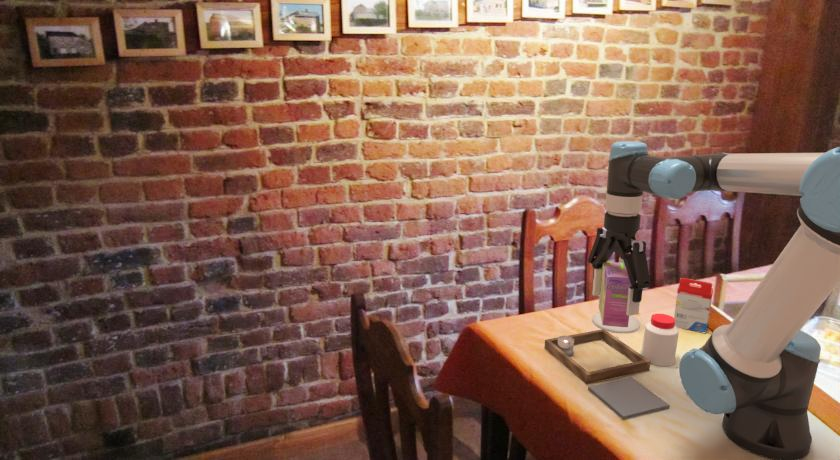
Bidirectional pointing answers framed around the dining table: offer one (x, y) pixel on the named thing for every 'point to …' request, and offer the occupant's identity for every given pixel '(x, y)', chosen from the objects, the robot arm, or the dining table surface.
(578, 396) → the dining table surface
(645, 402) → the coaster
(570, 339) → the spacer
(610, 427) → the dining table surface
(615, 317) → the box
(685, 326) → the ink box
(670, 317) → the pill bottle
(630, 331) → the candlestick
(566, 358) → the wooden tray
